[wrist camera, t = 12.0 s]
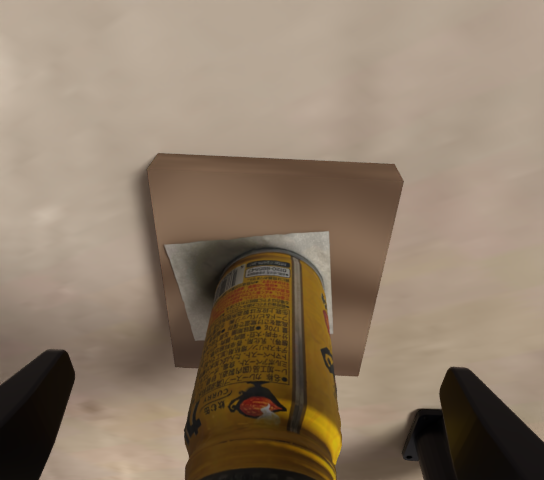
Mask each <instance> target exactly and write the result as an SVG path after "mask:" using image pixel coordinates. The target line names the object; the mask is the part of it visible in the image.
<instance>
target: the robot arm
mask: <svg viewBox="0 0 544 480" xmlns="http://www.w3.org/2000/svg"><path fill="white" fill-rule="evenodd" d="M74 380H75V371H74V368H73V366H72V363H71V360H70V358H69V355H68V353H67V352H66V351H65V350H58V349H49V350H46V351H45V352H43V353H42V354H40V355H39V356H38V357H37V358H35V359H34V360H33V361H31V362H30V363H29V364H27V365H26V366H25V367H24V368H22V369H21V370H20V371H18V372H17V373H16V374H14V375H13V376H12V377H11V378H9V379H8V380H7V381H5V382H4V383H3V384H1V385H0V480H39V478H40V476H41V474H42V471H43V469H44V467H45V464H46V462H47V460H48V458H49V455H50V453H51V450H52V448H53V445H54V443H55V440H56V437H57V434H58V431H59V428H60V425H61V422H62V418H63V415H64V412H65V409H66V406H67V403H68V400H69V397H70V393H71V390H72V387H73V384H74ZM439 395H440V402H441V407H442V411H439V410H421V411H419V412H418V413H417V415H416V418H415V420H414V423H413V425H412V428H411V430H410V433H409V436H408V438H407V441H406V443H405V446H404V449H403V451H402V455H403V459H405V460H410V461H419V463H420V467H421V471H422V474H423V478H424V480H544V442H543V441H542V440H541V439H540V438H539V437H538V436H537V435H536V434H535V433H534V432H533V431H532V430H531V429H530V428H529V427H528V426H527V425H526V424H525V423H524V422H523V421H522V420H521V419H520V418H519V417H518V416H517V415H516V414H515V413H514V412H513V411H512V410H511V409H509V408H508V407H507V406H506V405H505V404H504V403H503V402H502V401H501V400H500V399H499V398H498V397H497V396H496V395H495V394H494V393H493V392H492V391H491V390H490V389H489V388H488V387H487V386H486V385H485V384H484V383H483V382H482V381H481V380H480V379H479V378H478V377H477V376H476V375H475V374H474V373H473V372H472V371H471V370H469V369H468V368H464V367H450V368H449V369H448V370H447V373H446V375H445V377H444V380H443V382H442V385H441V387H440V393H439Z"/></svg>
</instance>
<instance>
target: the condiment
mask: <svg viewBox="0 0 544 480" xmlns="http://www.w3.org/2000/svg"><path fill="white" fill-rule="evenodd" d="M164 246H165V248H166V251H167V254H168V257H169V259H170V262H171V265H172V268H173V271H174V274H175V277H176V280H177V283H178V286H179V289H180V292H181V296H182V299H183V301H184V304H185V309H186V312H187V316H188V319H189V322H190V325H191V329H192V333H193V336H194V339H195V341H199V340H205V341H204V346H203V350H202V355H201V359H200V364H199V368H198V373H197V377H196V381H195V386H194V390H193V394H192V399H191V403H190V408H189V412H188V417H187V422H186V425H185V429H184V432H185V433H184V438H185V445H186V448H187V451H188V454H189V460H188V462H187V464H186V467H185V480H336V469H335V465H336V462H337V458H338V456H339V453H340V450H341V446H342V434H341V429H340V428H341V421H340V415H339V412H338V402H337V388H336V383H335V373H334V366H333V359H332V345H331V338H330V334H333V317H332V295H331V270H330V244H329V231H325V232H309V233H291V234H285V235H282V234H276V235H265V236H253V237H246V238H237V239H231V240H213V241H197V242H191V243H184V244H168V245H164Z"/></svg>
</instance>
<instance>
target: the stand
mask: <svg viewBox="0 0 544 480" xmlns="http://www.w3.org/2000/svg"><path fill="white" fill-rule="evenodd" d="M147 174H148V181H149V188H150V195H151V202H152V208H153V215H154V222H155V229H156V236H157V243H158V250H159V257H160V264H161V271H162V278H163V285H164V292H165V299H166V306H167V312H168V319H169V326H170V333H171V340H172V347H173V354H174V361H175V367H183V368H199V364H200V359H201V355H202V350H203V346H204V341H205V340H199V341H195V339H194V336H193V333H192V329H191V325H190V322H189V319H188V316H187V312H186V309H185V304H184V301H183V299H182V296H181V292H180V289H179V286H178V283H177V280H176V277H175V274H174V271H173V268H172V265H171V262H170V259H169V257H168V254H167V251H166V248H165V246H164V245H168V244H184V243H191V242H197V241H213V240H231V239H237V238H246V237H253V236H265V235H276V234H282V235H285V234H291V233H309V232H325V231H329V244H330V270H331V295H332V317H333V334H330V338H331V345H332V359H333V366H334V373H335V375H339V376H358V375H359V371H360V367H361V362H362V358H363V354H364V350H365V345H366V341H367V337H368V332H369V328H370V324H371V320H372V315H373V311H374V307H375V302H376V298H377V294H378V290H379V285H380V281H381V277H382V272H383V268H384V264H385V260H386V255H387V251H388V247H389V242H390V238H391V234H392V230H393V225H394V221H395V217H396V212H397V208H398V204H399V199H400V195H401V191H402V187H403V182H404V181H403V179H402V177H401V175H400V173H399V172H398V170H397V168H396V166H395V164H379V163H357V162H336V161H314V160H293V159H271V158H249V157H228V156H206V155H185V154H163V153H158V154H157V156H156V157H155V159H154V160H153V161H152V163H151V164H150V166H149V167H148V168H147Z"/></svg>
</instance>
